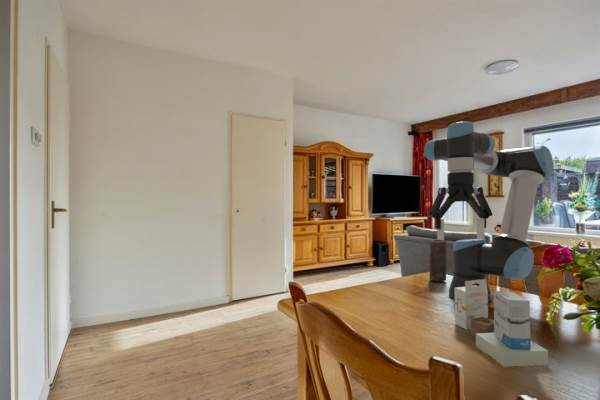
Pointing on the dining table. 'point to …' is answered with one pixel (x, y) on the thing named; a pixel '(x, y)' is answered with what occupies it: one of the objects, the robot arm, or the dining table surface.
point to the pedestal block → (511, 352)
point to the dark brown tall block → (438, 260)
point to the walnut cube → (481, 326)
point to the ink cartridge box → (470, 302)
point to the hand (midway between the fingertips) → (460, 239)
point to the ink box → (512, 319)
